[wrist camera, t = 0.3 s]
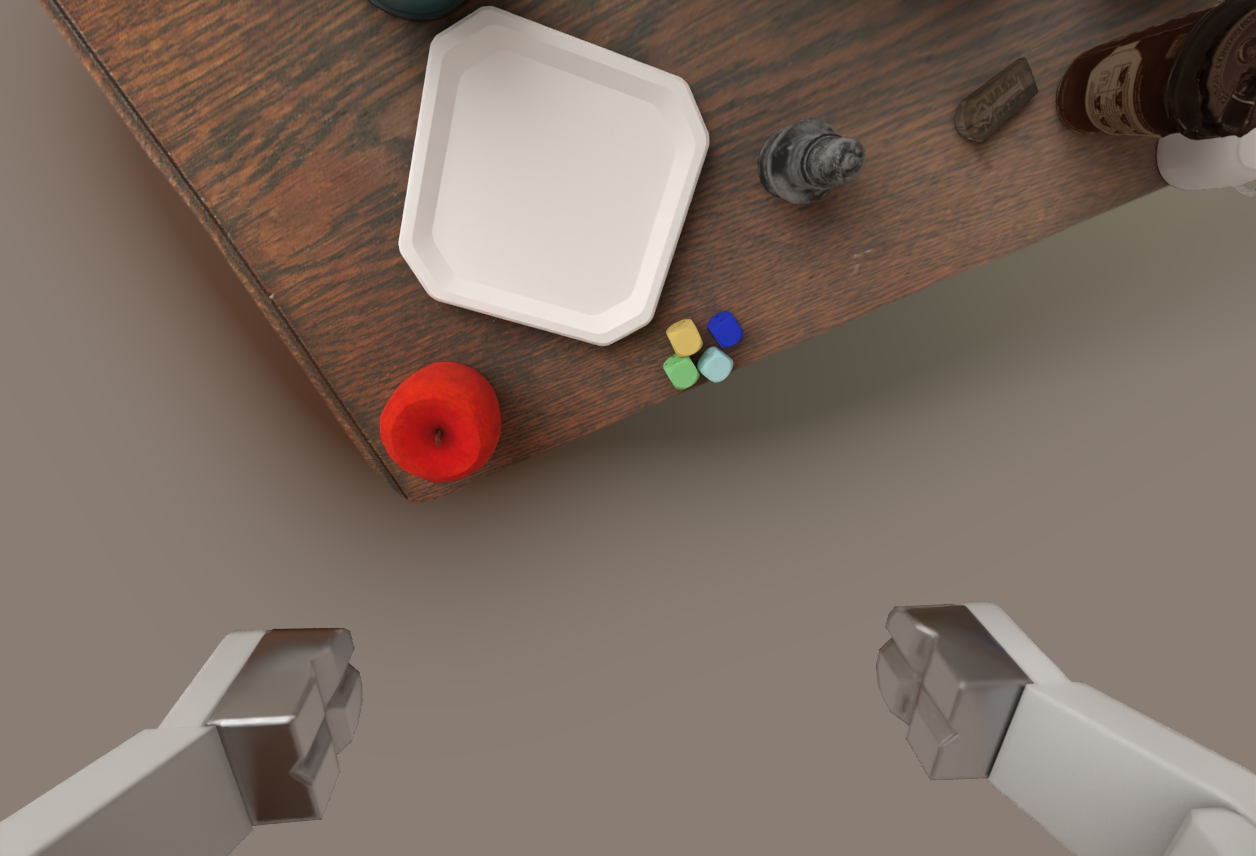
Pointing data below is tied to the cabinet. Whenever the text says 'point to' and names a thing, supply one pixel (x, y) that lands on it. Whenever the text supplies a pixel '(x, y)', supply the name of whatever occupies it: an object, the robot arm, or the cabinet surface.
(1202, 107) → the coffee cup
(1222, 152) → the teacup
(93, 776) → the robot arm
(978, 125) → the block
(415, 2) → the teal cylindrical knob
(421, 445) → the apple
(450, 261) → the plate
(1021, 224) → the cabinet surface
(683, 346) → the dice
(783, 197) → the salt shaker
